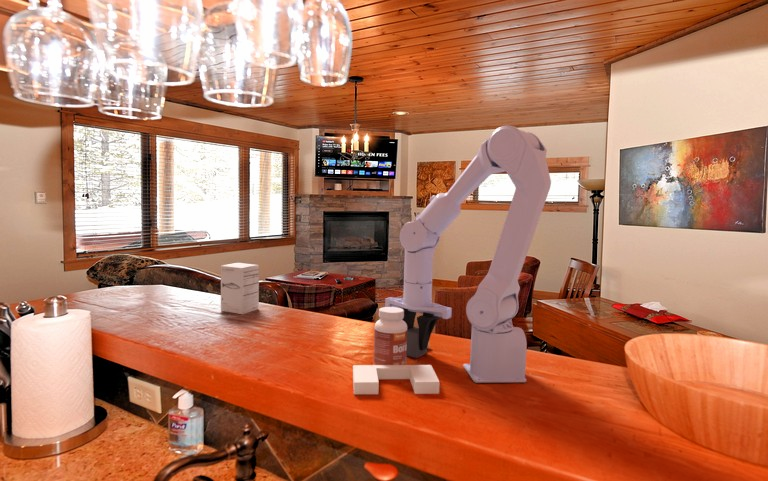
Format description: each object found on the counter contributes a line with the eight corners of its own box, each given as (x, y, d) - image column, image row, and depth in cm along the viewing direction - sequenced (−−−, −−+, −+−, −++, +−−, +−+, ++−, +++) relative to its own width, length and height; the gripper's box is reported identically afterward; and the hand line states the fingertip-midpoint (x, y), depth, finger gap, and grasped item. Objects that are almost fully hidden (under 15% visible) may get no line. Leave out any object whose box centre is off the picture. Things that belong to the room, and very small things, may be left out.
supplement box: (219, 311, 122) (219, 265, 120) (238, 306, 128) (238, 261, 127) (241, 315, 119) (241, 267, 118) (259, 309, 126) (259, 264, 124)
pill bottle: (396, 376, 81) (398, 315, 80) (367, 368, 84) (368, 310, 83) (411, 365, 86) (413, 308, 85) (383, 359, 89) (385, 304, 88)
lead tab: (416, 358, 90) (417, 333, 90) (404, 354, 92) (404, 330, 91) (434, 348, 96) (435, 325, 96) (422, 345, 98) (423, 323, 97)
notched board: (430, 375, 82) (430, 364, 81) (439, 393, 74) (439, 381, 74) (352, 376, 80) (353, 365, 80) (353, 394, 73) (353, 382, 73)
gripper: (459, 283, 90) (456, 349, 92) (398, 274, 99) (396, 335, 100) (443, 288, 85) (440, 359, 86) (380, 279, 93) (378, 343, 94)
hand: (415, 347), depth 92 cm, fingers closed on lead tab, 3 cm apart
